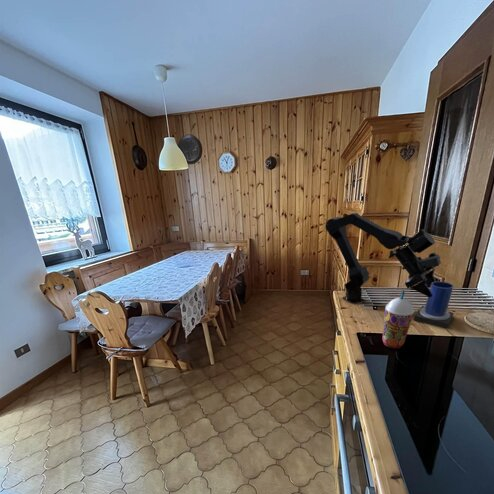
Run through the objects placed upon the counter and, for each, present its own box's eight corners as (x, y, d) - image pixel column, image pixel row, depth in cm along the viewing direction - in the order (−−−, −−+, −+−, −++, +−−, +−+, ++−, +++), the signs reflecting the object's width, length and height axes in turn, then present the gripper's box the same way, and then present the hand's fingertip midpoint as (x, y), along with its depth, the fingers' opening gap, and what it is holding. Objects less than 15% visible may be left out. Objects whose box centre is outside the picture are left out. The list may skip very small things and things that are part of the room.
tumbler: (420, 308, 113) (427, 281, 108) (438, 308, 113) (446, 281, 108) (430, 316, 107) (438, 288, 102) (449, 316, 107) (458, 287, 102)
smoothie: (379, 348, 96) (389, 294, 86) (379, 336, 102) (388, 284, 93) (407, 352, 93) (420, 297, 84) (404, 339, 99) (417, 286, 90)
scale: (413, 320, 111) (415, 313, 110) (421, 310, 118) (422, 304, 117) (446, 328, 104) (448, 321, 103) (452, 317, 112) (454, 310, 110)
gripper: (422, 253, 97) (451, 289, 96) (435, 242, 109) (461, 274, 108) (393, 271, 106) (419, 304, 104) (408, 258, 118) (432, 289, 116)
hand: (434, 292), depth 108 cm, fingers open, 9 cm apart
